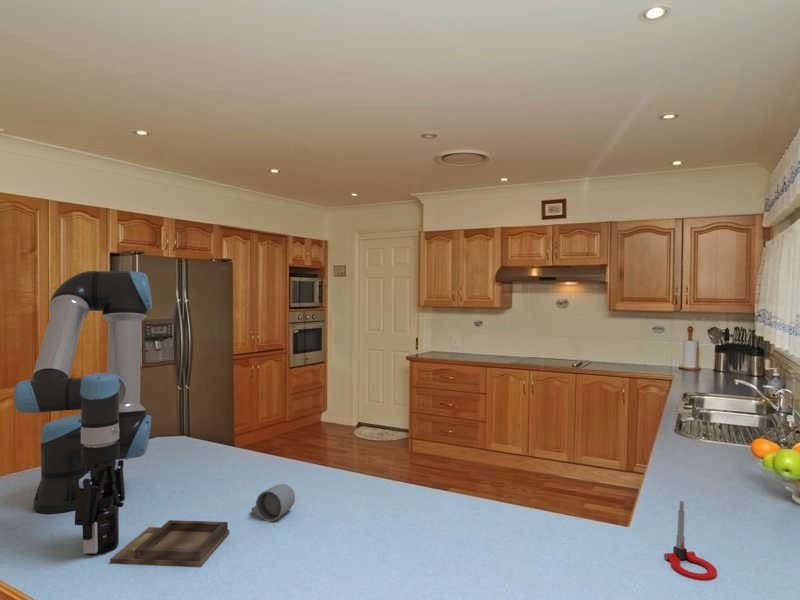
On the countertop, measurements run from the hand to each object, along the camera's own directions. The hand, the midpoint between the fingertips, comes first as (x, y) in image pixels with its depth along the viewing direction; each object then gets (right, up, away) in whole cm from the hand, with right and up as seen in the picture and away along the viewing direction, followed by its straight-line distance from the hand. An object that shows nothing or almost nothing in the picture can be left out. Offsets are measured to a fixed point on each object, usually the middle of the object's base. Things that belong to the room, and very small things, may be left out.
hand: (101, 543), depth 118 cm
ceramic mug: (+34, -1, +18) cm, 38 cm away
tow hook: (+129, -2, -8) cm, 129 cm away
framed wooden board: (+16, -1, 0) cm, 16 cm away
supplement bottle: (0, -1, 0) cm, 1 cm away
